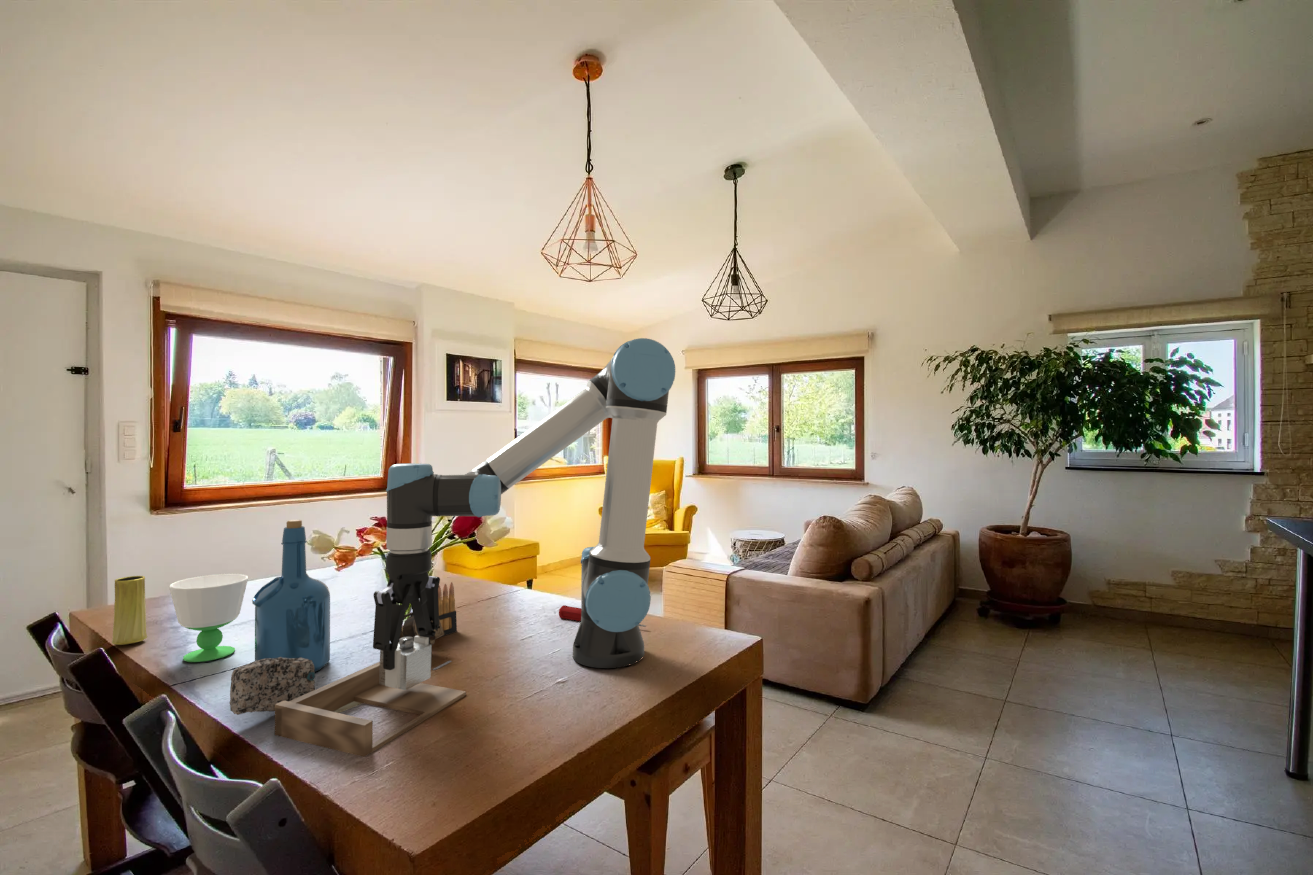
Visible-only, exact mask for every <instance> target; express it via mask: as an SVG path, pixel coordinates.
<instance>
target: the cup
mask: <svg viewBox="0 0 1313 875" xmlns="http://www.w3.org/2000/svg"><path fill="white" fill-rule="evenodd" d="M248 581H249V576H248V575H247V574H243V573H220V574H209V575H208V574H207V575H201V576H200V575H199V576H195V577H194V576H193V577H188V578H184V579H180V580H176V581H175V582H173V583H170V584H169V586H168V588H169V591H170V595H171V599H172V603H173V607H174V611H175V615H176V618H177V622H178V624H180V626H181V627H184V628H185V629H187V630H192V631H199V633H198V635H197V636H196V639H195V640H196V645H197V646H198V647H199V649H196V650H193V651H190V652H188V653H186V654H185V655H184V656H183V658H182V661H185V662H188V663H201V662H208V661H215V660H218V659H223V658H225V657H228V656H230V655H233V653H234V652H236V648H235V647H233V646H230V645H221V643H222V641H223V638H224V636H223V632H222V631H221V629H220V628H223V627H224V626H227V625H229V624H231V623H232V622H234V621H235V620H236V619H237V618H238V617H239V615H240V614H241V610H242V605H243V602H244V596H245V592H246V588H247V584H248Z"/></svg>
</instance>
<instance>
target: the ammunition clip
mask: <svg viewBox="0 0 1313 875" xmlns="http://www.w3.org/2000/svg"><path fill="white" fill-rule="evenodd" d="M438 602H439V620H440V622H441V625H442V628H443V631H444V635H443V636H441V637H444V636H447V635H450V634H453V633H456V632H458V630H457V629H458V628H457V627H458V626H457V625H458V624H457V622H458V620H457V610H456V598H455V587H454V584H453V581H452V582H450V584H449V588H448V586H447V583H444V584H443V589H442V587H441V586H440V584H439V588H438ZM441 637H440V638H441Z"/></svg>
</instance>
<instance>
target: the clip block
mask: <svg viewBox="0 0 1313 875" xmlns="http://www.w3.org/2000/svg"><path fill="white" fill-rule="evenodd" d="M432 646H433V645H430V644H425V643H420V642H415V641H414V638H413V637H403V638H400V639H399V643H398V646H397V649H401V673H400V687H399V688H398V689H402V690H407V689H409V688H411V687H413V686H415V685H417V684H419V683H423V682H425V681H427V680H429V679H430V678H431V675H432V673H431V670H432ZM379 652H380V653H379V662H380V671H379V684H381V685H385V669H384V668H383V650H379Z"/></svg>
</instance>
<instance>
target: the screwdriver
mask: <svg viewBox="0 0 1313 875" xmlns="http://www.w3.org/2000/svg"><path fill="white" fill-rule="evenodd" d="M558 617H559V618H560V619H561V618H563V619H564V620H568V619H570V620H569V621H573V620H576V621H575V622H579V621H581V608H580V607H574V606H568V605H562V606H560V608H559V609H558ZM563 619H562V620H563ZM638 625H639V627H645V628H646V627H647V625H645V624H641V623H639V624H638Z"/></svg>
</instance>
